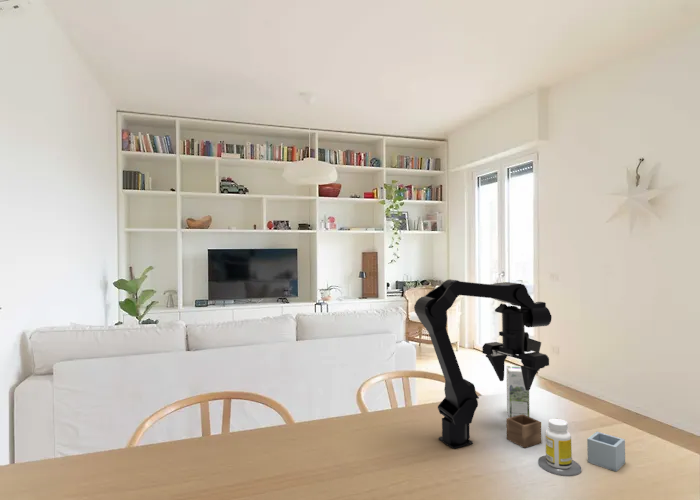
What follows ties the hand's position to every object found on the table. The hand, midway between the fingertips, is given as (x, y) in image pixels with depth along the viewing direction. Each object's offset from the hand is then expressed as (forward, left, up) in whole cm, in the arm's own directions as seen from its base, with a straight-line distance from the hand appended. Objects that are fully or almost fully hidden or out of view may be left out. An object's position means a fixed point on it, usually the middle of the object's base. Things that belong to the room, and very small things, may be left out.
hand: (514, 385), depth 118 cm
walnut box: (-2, -5, -13) cm, 14 cm away
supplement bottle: (-5, -18, -13) cm, 22 cm away
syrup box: (+10, +8, -13) cm, 18 cm away
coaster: (-5, -18, -13) cm, 23 cm away
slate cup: (+6, -22, -13) cm, 26 cm away
